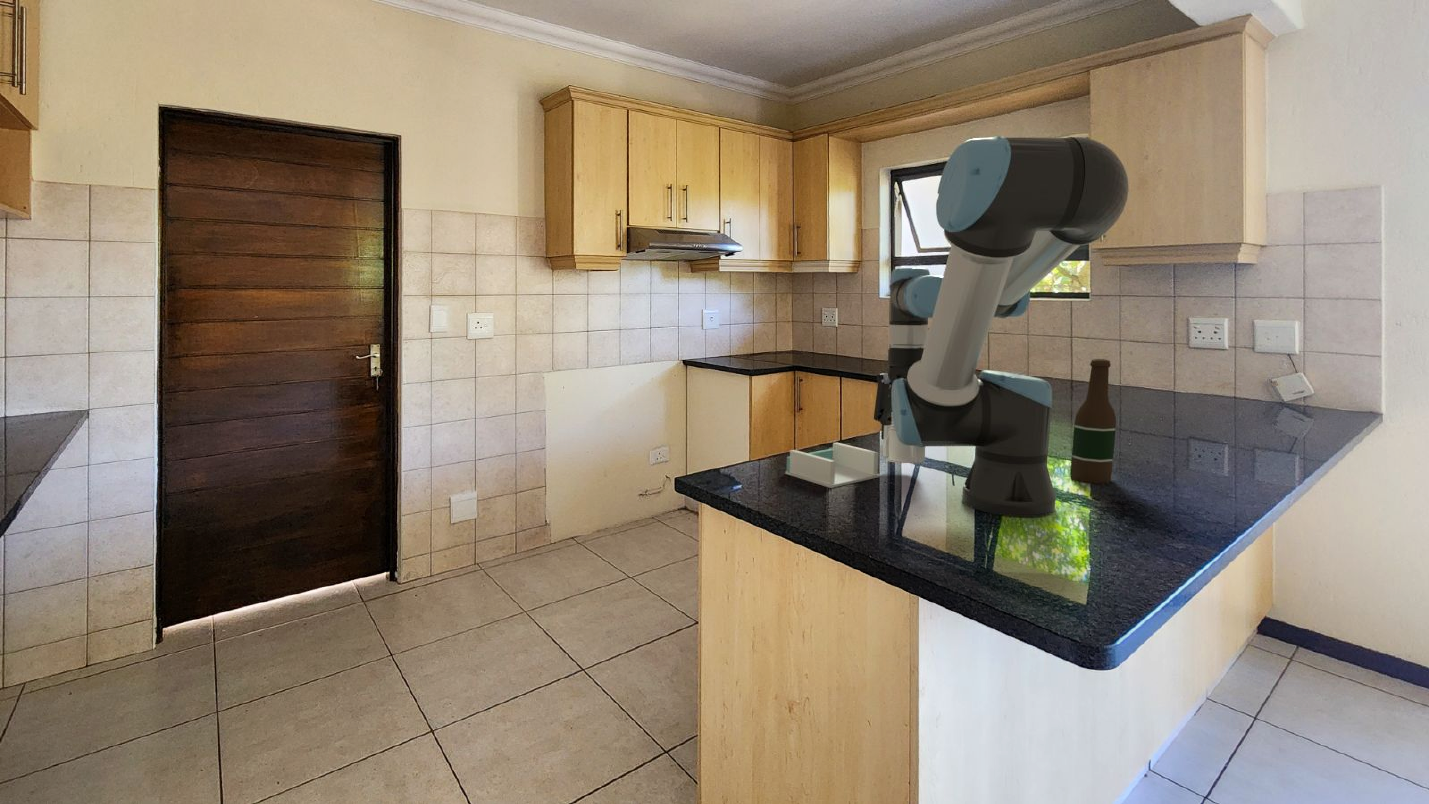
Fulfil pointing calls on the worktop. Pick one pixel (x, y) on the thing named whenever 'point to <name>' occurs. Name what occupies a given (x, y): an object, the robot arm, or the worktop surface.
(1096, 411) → the beer bottle
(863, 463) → the holder
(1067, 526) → the worktop surface
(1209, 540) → the worktop surface
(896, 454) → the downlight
